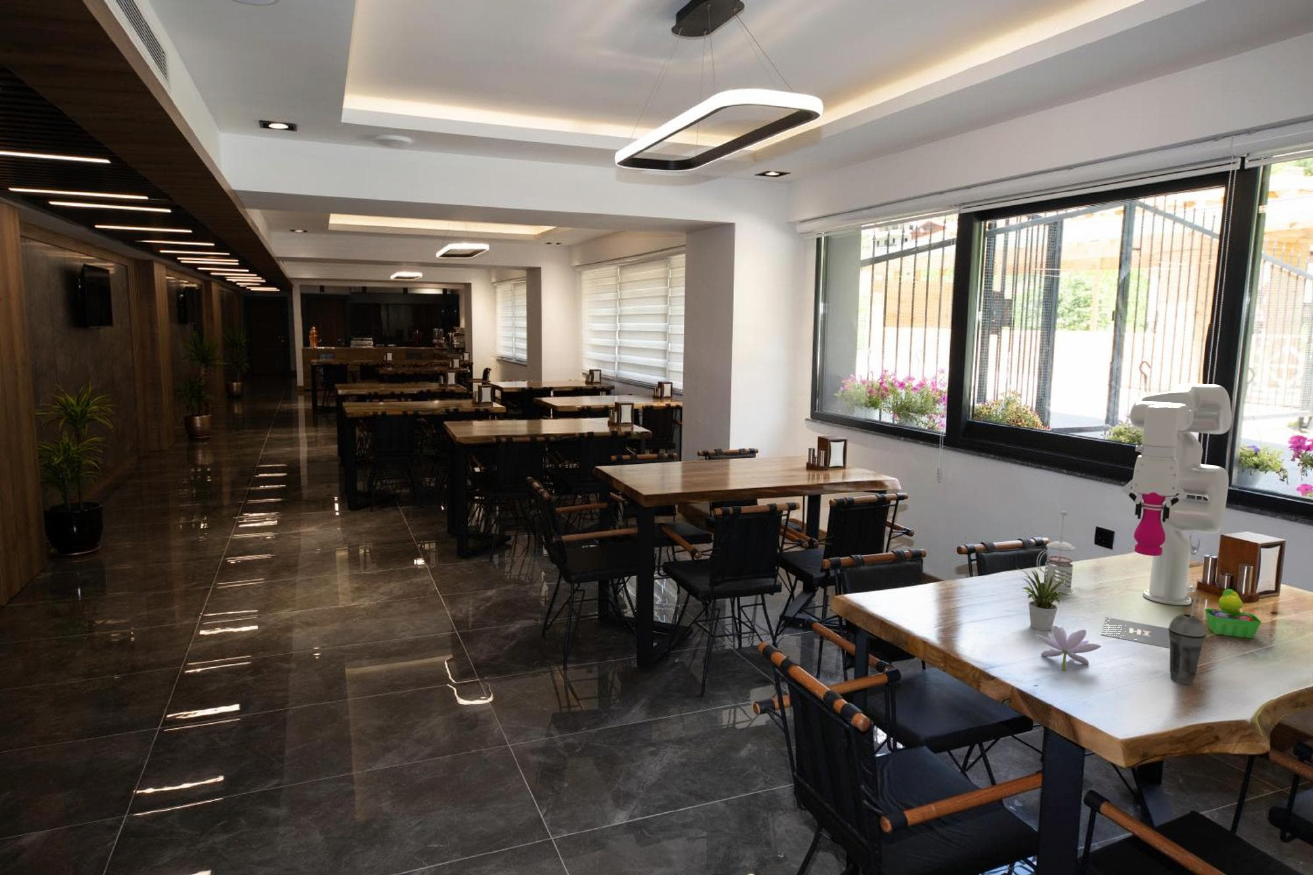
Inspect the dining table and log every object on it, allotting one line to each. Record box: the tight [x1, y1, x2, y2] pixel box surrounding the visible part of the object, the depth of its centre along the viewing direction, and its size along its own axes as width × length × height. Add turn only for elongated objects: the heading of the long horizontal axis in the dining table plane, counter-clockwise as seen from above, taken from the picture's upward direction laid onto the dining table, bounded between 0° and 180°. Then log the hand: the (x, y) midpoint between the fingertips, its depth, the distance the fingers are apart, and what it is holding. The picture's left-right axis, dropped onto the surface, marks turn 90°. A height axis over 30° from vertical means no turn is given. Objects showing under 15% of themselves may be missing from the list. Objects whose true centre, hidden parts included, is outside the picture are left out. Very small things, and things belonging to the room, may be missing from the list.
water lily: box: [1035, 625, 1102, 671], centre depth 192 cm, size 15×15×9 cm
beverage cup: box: [1168, 595, 1207, 685], centre depth 185 cm, size 7×7×20 cm
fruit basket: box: [1204, 588, 1262, 639], centre depth 219 cm, size 11×9×11 cm
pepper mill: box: [1133, 492, 1166, 557], centre depth 215 cm, size 7×7×20 cm
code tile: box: [1100, 616, 1170, 649], centre depth 217 cm, size 17×17×1 cm
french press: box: [1036, 510, 1076, 594], centre depth 253 cm, size 10×12×25 cm
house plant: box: [1016, 567, 1071, 631], centre depth 219 cm, size 14×14×16 cm
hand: (1151, 518), depth 215 cm, fingers closed on pepper mill, 5 cm apart
